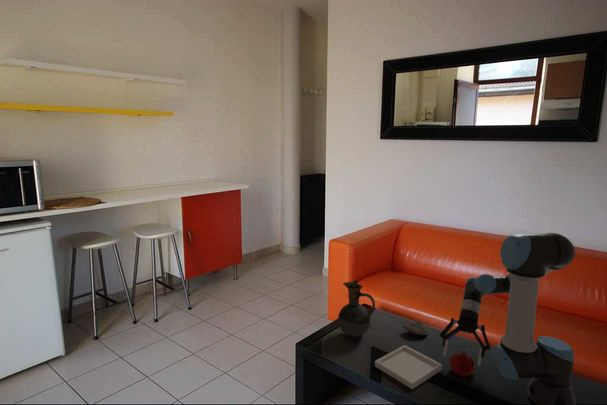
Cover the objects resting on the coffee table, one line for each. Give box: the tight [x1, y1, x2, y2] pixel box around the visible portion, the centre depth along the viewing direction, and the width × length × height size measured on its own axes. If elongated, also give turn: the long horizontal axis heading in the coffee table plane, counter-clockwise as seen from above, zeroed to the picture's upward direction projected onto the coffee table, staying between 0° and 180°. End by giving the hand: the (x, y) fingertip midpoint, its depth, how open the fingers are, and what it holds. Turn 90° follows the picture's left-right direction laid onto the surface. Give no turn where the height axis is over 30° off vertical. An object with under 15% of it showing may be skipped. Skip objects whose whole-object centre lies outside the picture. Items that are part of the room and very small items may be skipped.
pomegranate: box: [448, 350, 476, 378], centre depth 162 cm, size 10×10×9 cm
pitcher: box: [337, 279, 376, 341], centre depth 190 cm, size 11×19×30 cm, turn 53°
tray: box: [374, 344, 443, 390], centre depth 167 cm, size 20×20×2 cm
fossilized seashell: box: [403, 321, 429, 336], centre depth 195 cm, size 11×11×7 cm
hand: (461, 360), depth 162 cm, fingers open, 13 cm apart
